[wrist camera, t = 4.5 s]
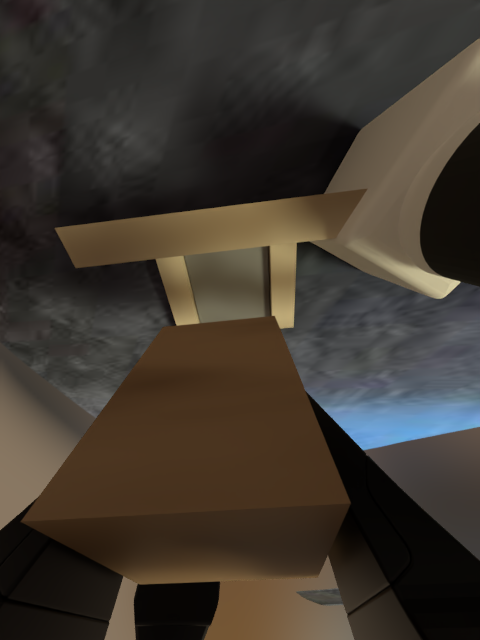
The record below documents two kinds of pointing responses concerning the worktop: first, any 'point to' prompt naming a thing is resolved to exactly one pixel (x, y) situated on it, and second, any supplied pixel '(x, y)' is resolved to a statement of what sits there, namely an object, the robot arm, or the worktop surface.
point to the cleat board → (219, 253)
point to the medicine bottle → (418, 185)
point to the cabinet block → (202, 465)
